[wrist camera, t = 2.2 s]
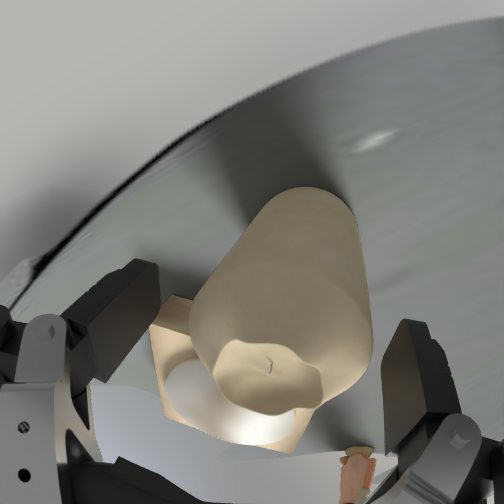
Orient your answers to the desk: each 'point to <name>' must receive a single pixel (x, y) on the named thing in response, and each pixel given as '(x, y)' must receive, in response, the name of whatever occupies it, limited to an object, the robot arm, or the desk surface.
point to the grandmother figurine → (356, 475)
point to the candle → (287, 307)
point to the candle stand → (210, 390)
